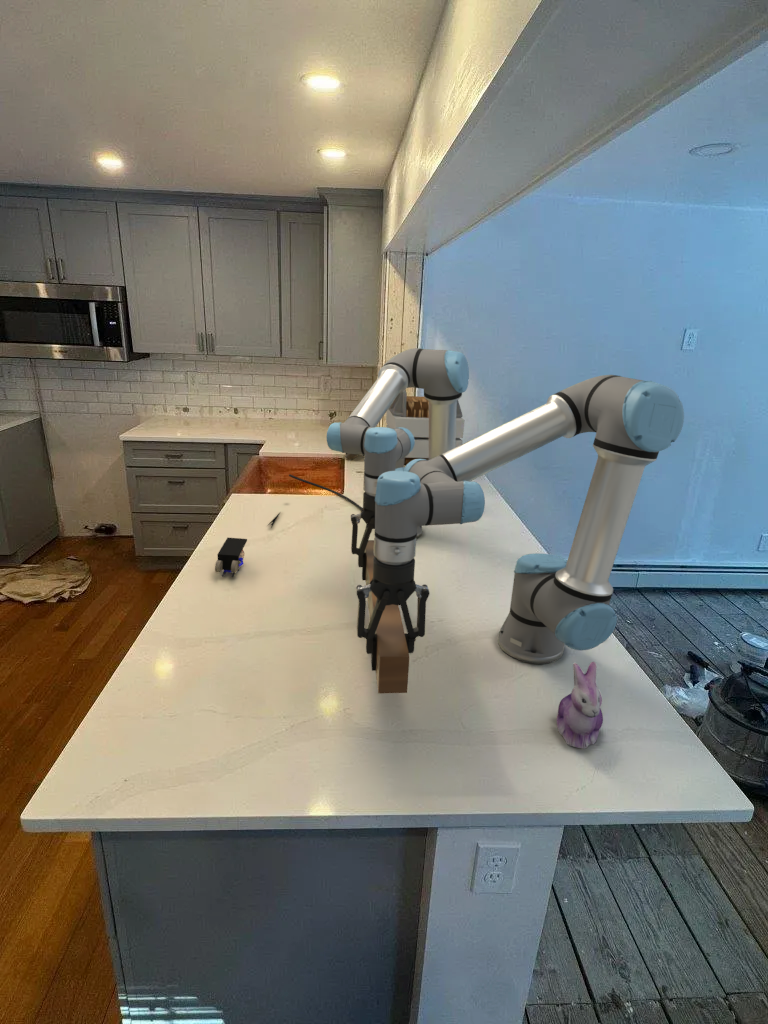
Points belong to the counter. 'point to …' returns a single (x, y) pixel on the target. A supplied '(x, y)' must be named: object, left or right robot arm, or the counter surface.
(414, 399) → the grey slatted crate
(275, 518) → the feather
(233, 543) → the black boxy wheeled piece
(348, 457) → the fossil
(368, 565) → the bar
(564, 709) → the figurine
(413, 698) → the counter surface
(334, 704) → the counter surface
